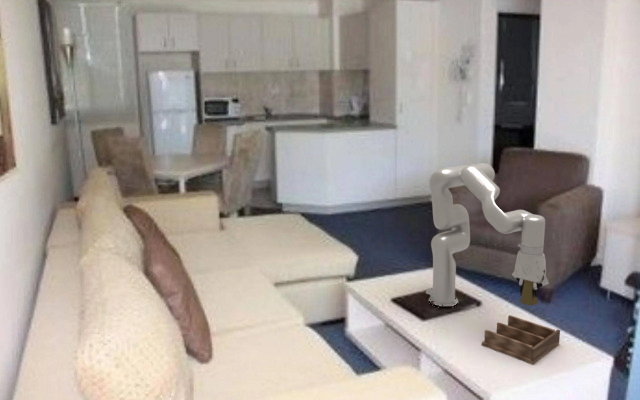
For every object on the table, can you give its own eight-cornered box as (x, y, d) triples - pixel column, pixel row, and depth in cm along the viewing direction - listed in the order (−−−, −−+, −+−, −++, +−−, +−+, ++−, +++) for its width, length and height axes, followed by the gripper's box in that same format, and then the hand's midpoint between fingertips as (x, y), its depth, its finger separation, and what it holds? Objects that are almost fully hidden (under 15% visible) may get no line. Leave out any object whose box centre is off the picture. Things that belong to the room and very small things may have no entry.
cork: (538, 305, 206) (540, 277, 203) (521, 304, 207) (523, 276, 205) (536, 299, 212) (538, 271, 209) (519, 298, 213) (520, 270, 210)
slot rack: (481, 345, 211) (482, 331, 210) (508, 327, 224) (509, 313, 223) (533, 364, 197) (534, 349, 195) (559, 344, 210) (560, 330, 209)
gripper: (505, 246, 208) (502, 293, 212) (549, 257, 196) (545, 306, 201) (515, 241, 213) (512, 287, 217) (559, 251, 201) (555, 300, 206)
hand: (528, 296), depth 209 cm, fingers closed on cork, 3 cm apart
